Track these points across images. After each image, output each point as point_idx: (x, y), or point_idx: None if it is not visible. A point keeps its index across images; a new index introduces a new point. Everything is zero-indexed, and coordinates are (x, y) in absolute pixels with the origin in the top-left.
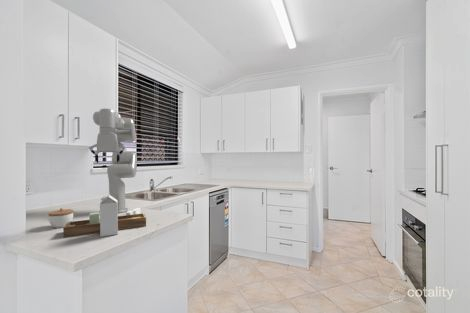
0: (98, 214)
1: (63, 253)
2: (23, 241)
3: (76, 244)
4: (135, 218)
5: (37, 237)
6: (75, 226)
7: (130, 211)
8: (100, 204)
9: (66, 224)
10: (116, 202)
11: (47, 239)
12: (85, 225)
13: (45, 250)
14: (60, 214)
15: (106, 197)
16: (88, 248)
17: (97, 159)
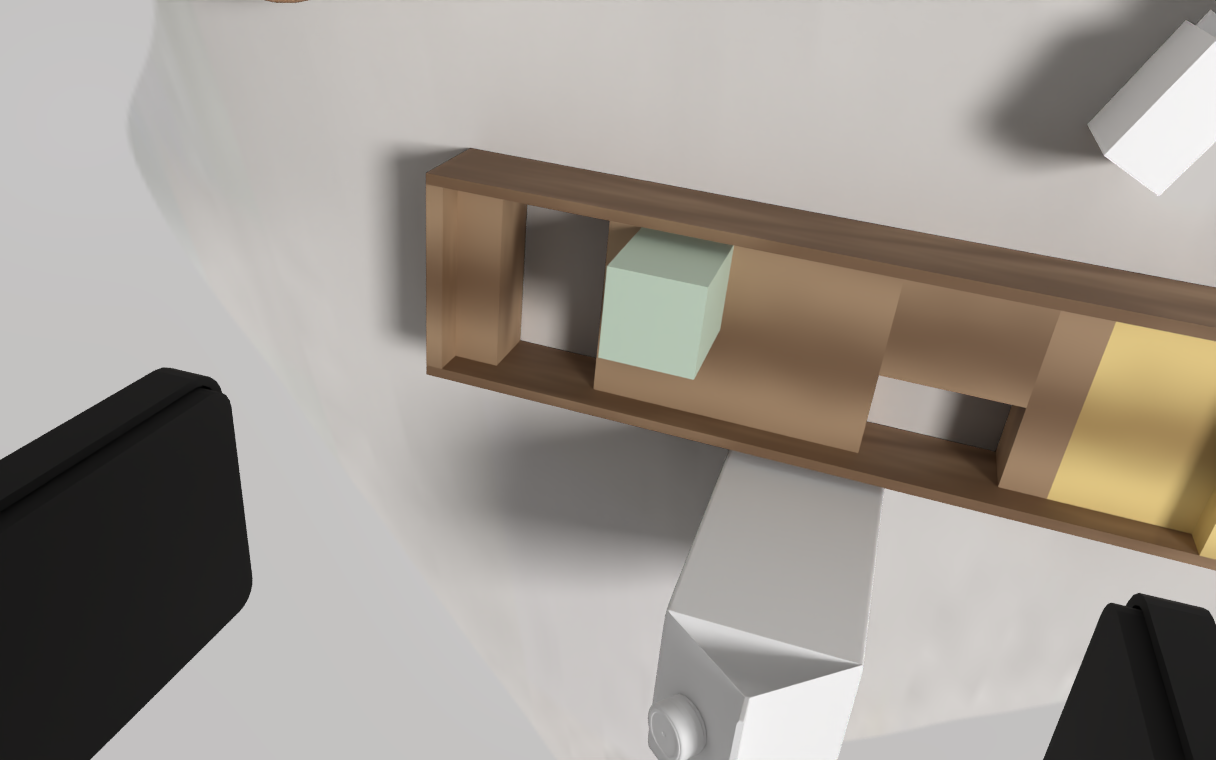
0: (691, 376)
1: (519, 650)
2: (221, 232)
3: (571, 557)
4: (1145, 382)
5: (278, 184)
6: (515, 393)
7: (1201, 116)
8: (653, 744)
9: (430, 274)
10: None
11: (366, 300)
12: (593, 412)
13: (416, 533)
14: (290, 1)
15: (710, 724)
16: (642, 675)
17: (147, 685)
